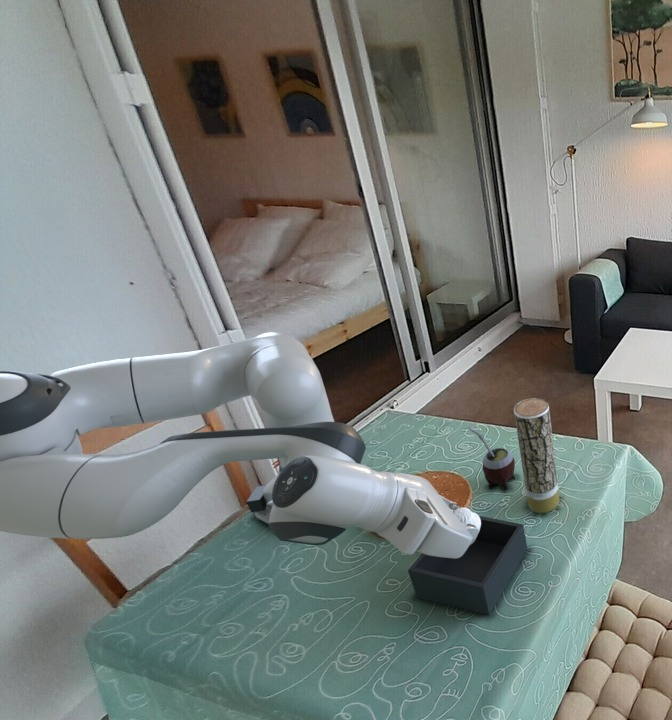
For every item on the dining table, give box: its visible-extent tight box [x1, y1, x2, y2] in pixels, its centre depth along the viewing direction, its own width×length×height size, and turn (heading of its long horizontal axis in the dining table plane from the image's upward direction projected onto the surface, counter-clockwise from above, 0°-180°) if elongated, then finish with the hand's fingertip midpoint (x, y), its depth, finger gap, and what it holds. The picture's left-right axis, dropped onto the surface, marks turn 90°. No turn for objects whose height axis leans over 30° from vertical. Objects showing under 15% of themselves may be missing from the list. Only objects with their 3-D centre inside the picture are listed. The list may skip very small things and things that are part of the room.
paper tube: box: [513, 397, 560, 514], centre depth 104 cm, size 7×7×25 cm
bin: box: [407, 515, 528, 616], centre depth 92 cm, size 15×15×7 cm
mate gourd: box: [467, 426, 516, 491], centre depth 113 cm, size 8×8×15 cm
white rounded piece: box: [453, 507, 481, 545], centre depth 88 cm, size 6×6×7 cm
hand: (465, 520), depth 88 cm, fingers closed on white rounded piece, 6 cm apart
